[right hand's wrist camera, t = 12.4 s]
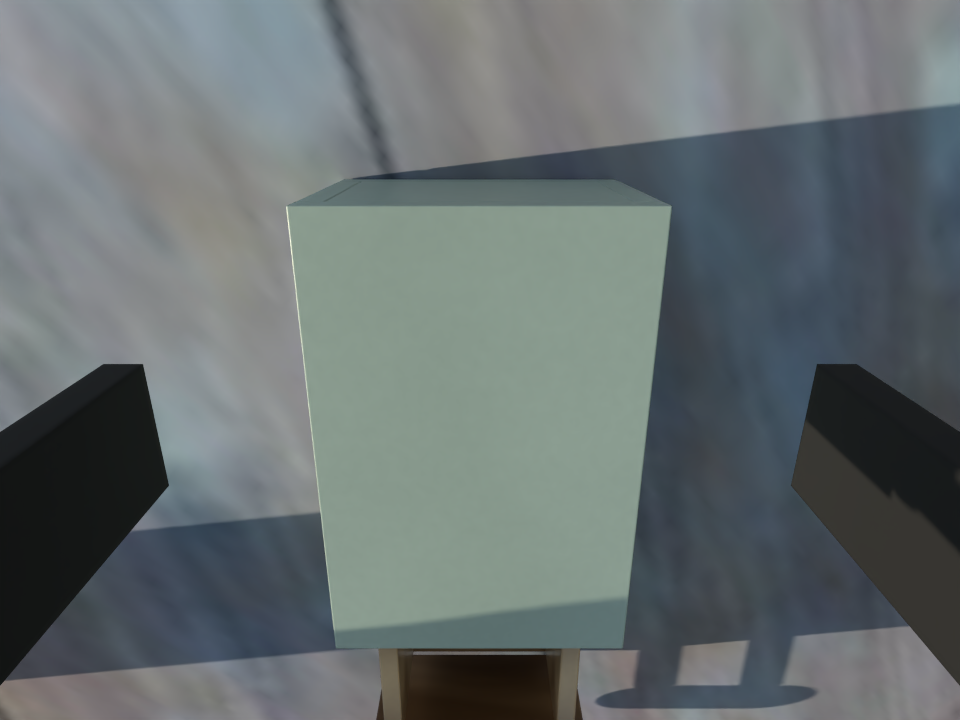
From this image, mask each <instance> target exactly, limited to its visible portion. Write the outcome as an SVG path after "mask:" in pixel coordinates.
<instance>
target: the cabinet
mask: <svg viewBox="0 0 960 720" xmlns="http://www.w3.org/2000/svg"><path fill="white" fill-rule="evenodd" d="M286 210H287V218H288V227H289V236H290V245H291V254H292V263H293V272H294V281H295V289H296V298H297V307H298V316H299V325H300V334H301V343H302V352H303V360H304V369H305V378H306V387H307V396H308V405H309V414H310V423H311V432H312V440H313V449H314V458H315V467H316V476H317V485H318V494H319V503H320V511H321V520H322V529H323V538H324V547H325V556H326V565H327V574H328V583H329V591H330V600H331V609H332V618H333V627H334V636H335V645H336V648H623V643H624V634H625V625H626V616H627V607H628V598H629V589H630V580H631V571H632V562H633V553H634V544H635V535H636V526H637V517H638V508H639V500H640V491H641V482H642V473H643V464H644V455H645V446H646V437H647V428H648V419H649V410H650V401H651V392H652V383H653V374H654V365H655V356H656V347H657V338H658V329H659V321H660V312H661V303H662V294H663V285H664V276H665V267H666V258H667V249H668V240H669V231H670V222H671V213H672V206H671V205H669V204H667V203H665V202H662V201H660V200H658V199H656V198H654V197H651V196H649V195H647V194H645V193H643V192H641V191H639V190H637V189H634V188H632V187H630V186H628V185H626V184H624V183H622V182H619V181H617V180H615V179H344V180H342V181H340V182H338V183H335V184H333V185H331V186H329V187H327V188H325V189H323V190H320V191H318V192H316V193H314V194H312V195H310V196H308V197H306V198H303V199H301V200H299V201H297V202H294V203H292V204H290V205H287V206H286Z"/></svg>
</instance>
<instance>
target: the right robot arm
mask: <svg viewBox="0 0 960 720" xmlns="http://www.w3.org/2000/svg"><path fill="white" fill-rule="evenodd" d="M168 486H169V484H168V479H167V474H166V470H165V465H164V460H163V456H162V451H161V446H160V442H159V437H158V432H157V428H156V423H155V418H154V414H153V409H152V405H151V400H150V395H149V391H148V386H147V381H146V377H145V372H144V367H143V364H103V365H102V366H100V367H99V368H97V369H95V370H94V371H92V372H91V373H89V374H88V375H86V376H85V377H83V378H82V379H80V380H79V381H77V382H76V383H74V384H73V385H71V386H70V387H68V388H67V389H65V390H64V391H62V392H60V393H59V394H57V395H56V396H54V397H53V398H51V399H50V400H48V401H47V402H45V403H44V404H42V405H41V406H39V407H38V408H36V409H35V410H33V411H32V412H30V413H29V414H27V415H25V416H24V417H22V418H21V419H19V420H18V421H16V422H15V423H13V424H12V425H10V426H9V427H7V428H6V429H4V430H3V431H1V432H0V685H1V684H2V683H3V682H4V680H5V679H6V678H7V677H8V676H9V674H10V673H11V672H12V671H13V670H14V669H15V667H16V666H17V665H18V664H19V663H20V661H21V660H22V659H23V658H24V657H25V656H26V654H27V653H28V652H29V651H30V650H31V648H32V647H33V646H34V645H35V644H36V642H37V641H38V640H39V639H40V638H41V637H42V635H43V634H44V633H45V632H46V631H47V629H48V628H49V627H50V626H51V625H52V624H53V622H54V621H55V620H56V619H57V618H58V616H59V615H60V614H61V613H62V612H63V610H64V609H65V608H66V607H67V606H68V605H69V603H70V602H71V601H72V600H73V599H74V597H75V596H76V595H77V594H78V593H79V592H80V590H81V589H82V588H83V587H84V586H85V584H86V583H87V582H88V581H89V580H90V578H91V577H92V576H93V575H94V574H95V573H96V571H97V570H98V569H99V568H100V567H101V565H102V564H103V563H104V562H105V561H106V560H107V558H108V557H109V556H110V555H111V554H112V552H113V551H114V550H115V549H116V548H117V546H118V545H119V544H120V543H121V542H122V541H123V539H124V538H125V537H126V536H127V535H128V533H129V532H130V531H131V530H132V529H133V527H134V526H135V525H136V524H137V523H138V522H139V520H140V519H141V518H142V517H143V516H144V514H145V513H146V512H147V511H148V510H149V509H150V507H151V506H152V505H153V504H154V503H155V501H156V500H157V499H158V498H159V497H160V495H161V494H162V493H163V492H164V491H165V490H166V488H167V487H168ZM791 486H792V487H793V488H794V490H795V491H796V492H797V493H798V494H799V495H800V497H801V498H802V499H803V500H804V501H805V503H806V504H807V505H808V506H809V507H810V509H811V510H812V511H813V512H814V513H815V514H816V516H817V517H818V518H819V519H820V520H821V522H822V523H823V524H824V525H825V526H826V528H827V529H828V530H829V531H830V532H831V533H832V535H833V536H834V537H835V538H836V539H837V541H838V542H839V543H840V544H841V545H842V546H843V548H844V549H845V550H846V551H847V552H848V554H849V555H850V556H851V557H852V558H853V560H854V561H855V562H856V563H857V564H858V565H859V567H860V568H861V569H862V570H863V571H864V573H865V574H866V575H867V576H868V577H869V578H870V580H871V581H872V582H873V583H874V584H875V586H876V587H877V588H878V589H879V590H880V592H881V593H882V594H883V595H884V596H885V597H886V599H887V600H888V601H889V602H890V603H891V605H892V606H893V607H894V608H895V609H896V610H897V612H898V613H899V614H900V615H901V616H902V618H903V619H904V620H905V621H906V622H907V624H908V625H909V626H910V627H911V628H912V629H913V631H914V632H915V633H916V634H917V635H918V637H919V638H920V639H921V640H922V641H923V642H924V644H925V645H926V646H927V647H928V648H929V650H930V651H931V652H932V653H933V654H934V656H935V657H936V658H937V659H938V660H939V661H940V663H941V664H942V665H943V666H944V667H945V669H946V670H947V671H948V672H949V673H950V674H951V676H952V677H953V678H954V679H955V680H956V682H957V683H958V684H959V685H960V432H959V431H957V430H956V429H954V428H953V427H951V426H950V425H948V424H947V423H945V422H944V421H942V420H941V419H939V418H938V417H936V416H935V415H933V414H931V413H930V412H928V411H927V410H925V409H924V408H922V407H921V406H919V405H918V404H916V403H915V402H913V401H912V400H910V399H909V398H907V397H906V396H904V395H903V394H901V393H900V392H898V391H896V390H895V389H893V388H892V387H890V386H889V385H887V384H886V383H884V382H883V381H881V380H880V379H878V378H877V377H875V376H874V375H872V374H871V373H869V372H868V371H866V370H865V369H863V368H861V367H860V366H858V365H857V364H817V367H816V372H815V377H814V381H813V386H812V391H811V395H810V400H809V404H808V409H807V414H806V418H805V423H804V428H803V432H802V437H801V442H800V446H799V451H798V456H797V460H796V465H795V470H794V474H793V479H792V484H791Z"/></svg>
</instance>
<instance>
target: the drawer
mask: <svg viewBox="0 0 960 720" xmlns="http://www.w3.org/2000/svg"><path fill="white" fill-rule="evenodd" d="M413 651H546V655H413ZM579 658H580V648H379V661H380V673H381V686H382V689H381V695H380V701H379V707H378V713H377V718H376V720H583V718H582V713H581V707H580V701H579V695H578V689H577V683H578V670H579Z"/></svg>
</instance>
